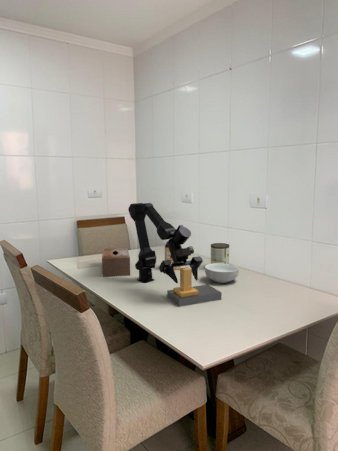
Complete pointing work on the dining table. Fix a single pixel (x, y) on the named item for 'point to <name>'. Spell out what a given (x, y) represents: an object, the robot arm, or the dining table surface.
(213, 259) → the coffee can
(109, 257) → the tissue box cover
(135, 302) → the dining table surface
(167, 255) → the supplement box
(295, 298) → the dining table surface
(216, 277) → the cereal bowl
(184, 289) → the orange post
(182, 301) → the grey metal plate
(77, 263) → the dining table surface
